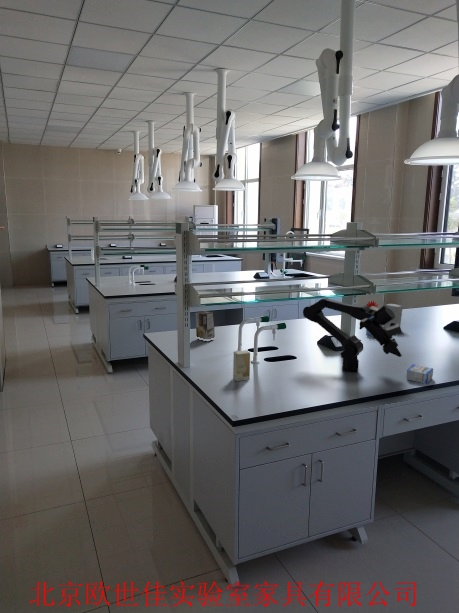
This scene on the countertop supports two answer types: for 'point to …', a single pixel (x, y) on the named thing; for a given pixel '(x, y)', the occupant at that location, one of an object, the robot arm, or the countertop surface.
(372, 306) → the kitchen timer
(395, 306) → the skincare box
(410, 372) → the medicine box
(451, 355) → the countertop surface
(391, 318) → the robot arm
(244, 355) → the skincare box
